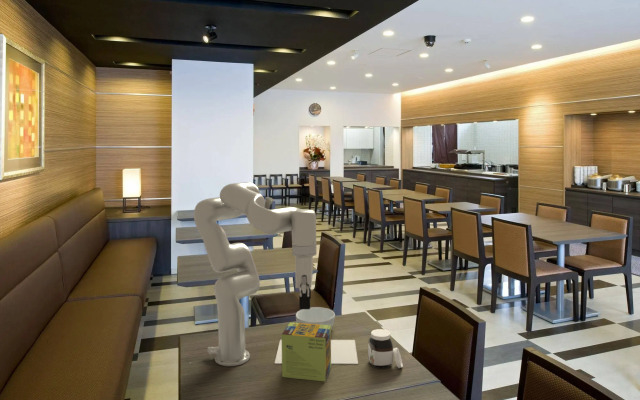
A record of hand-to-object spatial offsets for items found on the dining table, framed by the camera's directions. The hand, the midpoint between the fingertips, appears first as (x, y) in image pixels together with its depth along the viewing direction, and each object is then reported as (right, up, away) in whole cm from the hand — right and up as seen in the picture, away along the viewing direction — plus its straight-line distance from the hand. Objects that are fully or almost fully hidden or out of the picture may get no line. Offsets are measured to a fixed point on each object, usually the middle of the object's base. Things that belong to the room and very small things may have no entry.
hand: (305, 303), depth 143 cm
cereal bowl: (+3, -23, +52) cm, 57 cm away
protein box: (0, -27, +16) cm, 32 cm away
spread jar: (+28, -27, +21) cm, 44 cm away
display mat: (+3, -25, +31) cm, 41 cm away
